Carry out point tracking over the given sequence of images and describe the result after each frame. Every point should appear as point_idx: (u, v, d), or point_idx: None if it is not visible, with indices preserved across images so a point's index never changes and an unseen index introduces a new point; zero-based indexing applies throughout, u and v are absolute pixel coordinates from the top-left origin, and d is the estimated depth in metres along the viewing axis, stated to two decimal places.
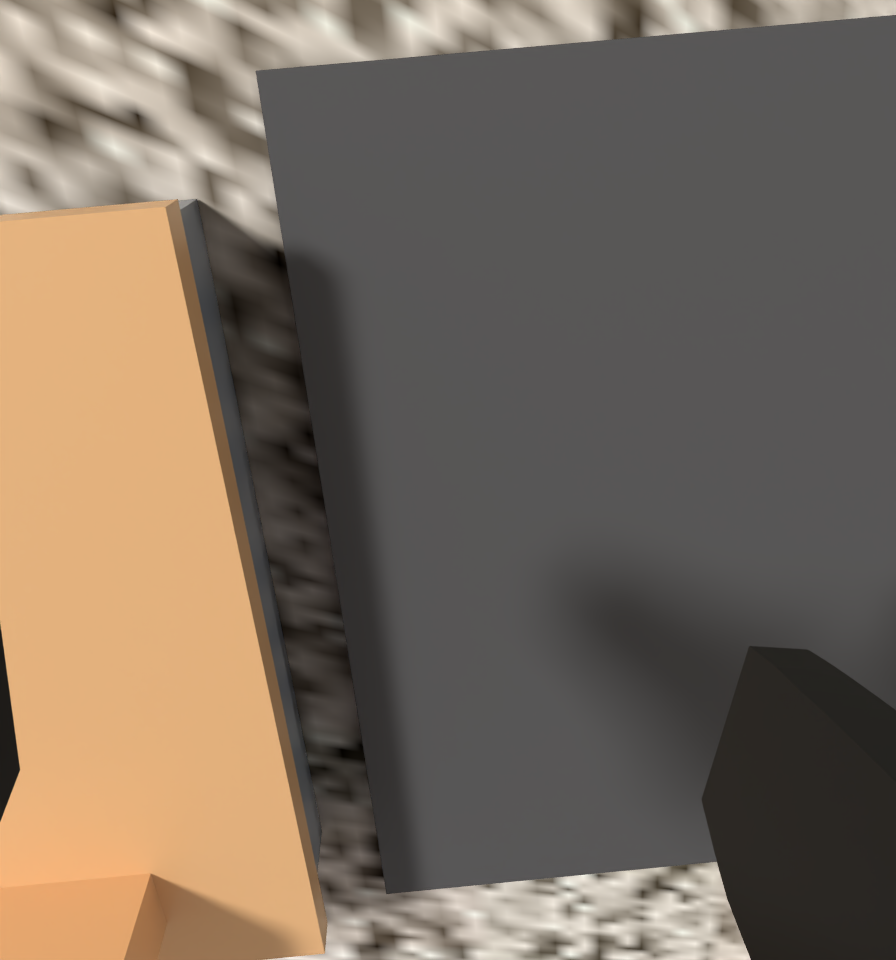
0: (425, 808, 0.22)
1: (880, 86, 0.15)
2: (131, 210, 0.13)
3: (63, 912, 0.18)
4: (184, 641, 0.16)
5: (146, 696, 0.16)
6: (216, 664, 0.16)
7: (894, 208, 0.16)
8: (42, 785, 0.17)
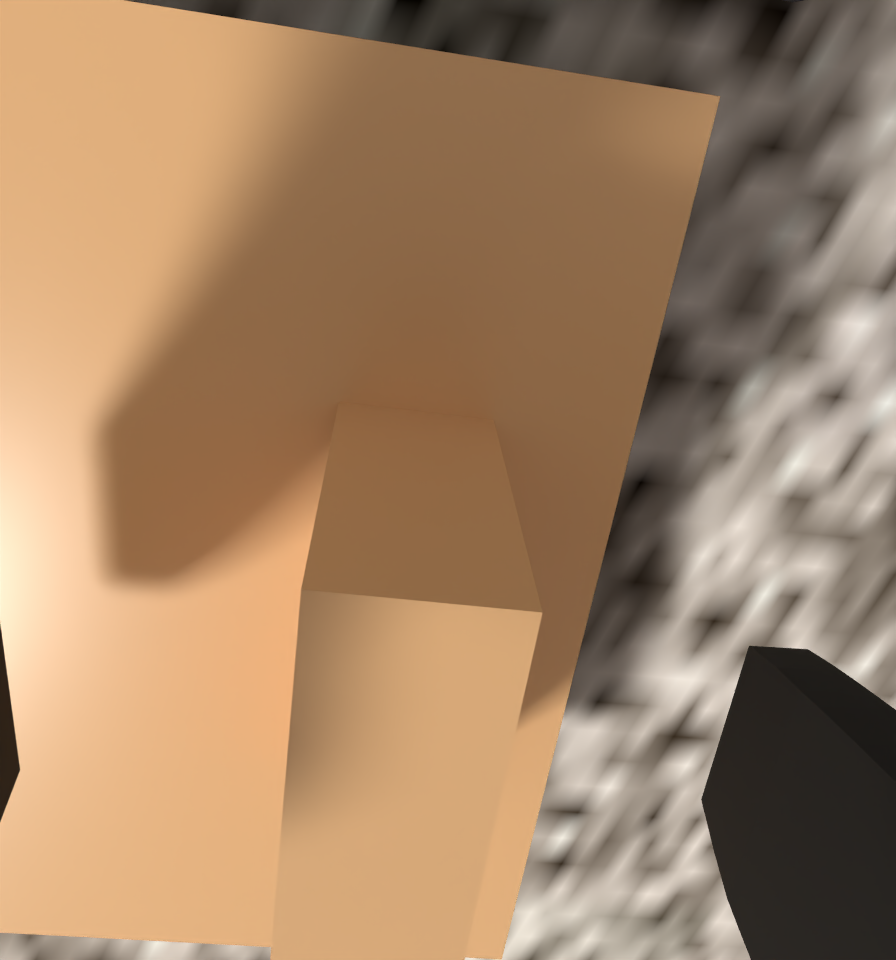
0: None
1: None
2: None
3: None
4: None
5: None
6: None
7: None
8: (67, 507, 0.09)
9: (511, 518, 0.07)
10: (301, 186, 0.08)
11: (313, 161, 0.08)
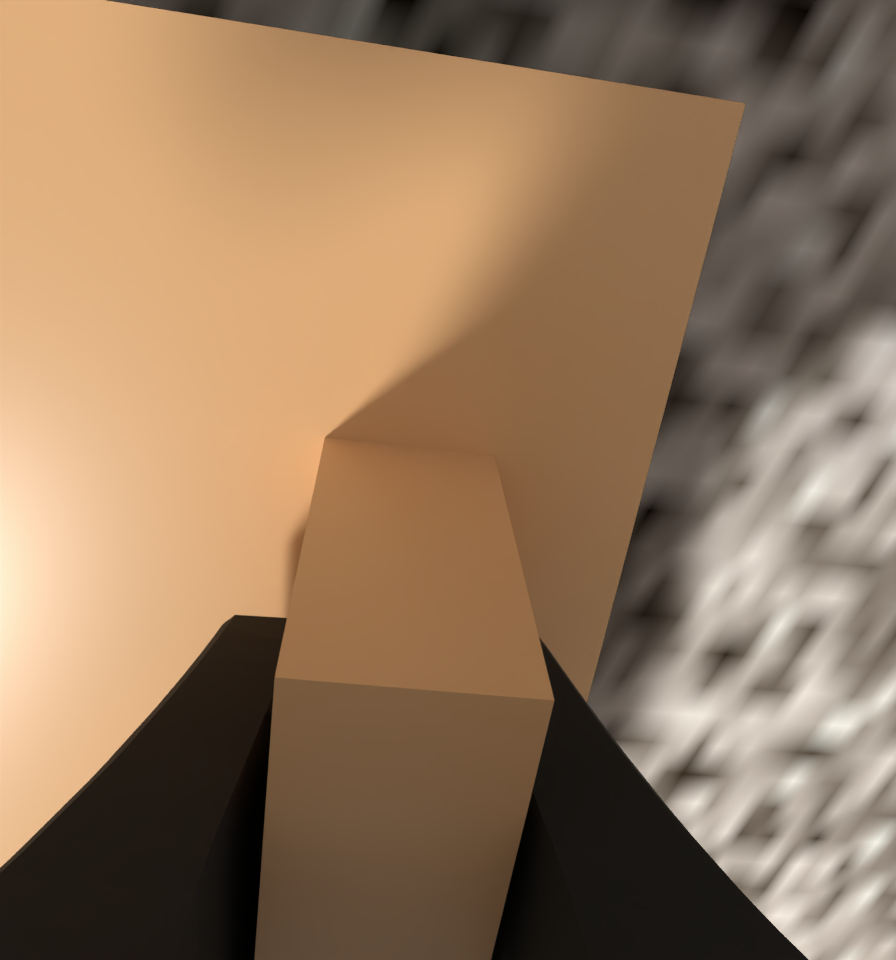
0: None
1: None
2: None
3: None
4: None
5: None
6: None
7: None
8: (28, 552, 0.08)
9: (516, 577, 0.06)
10: (281, 202, 0.07)
11: (294, 175, 0.07)
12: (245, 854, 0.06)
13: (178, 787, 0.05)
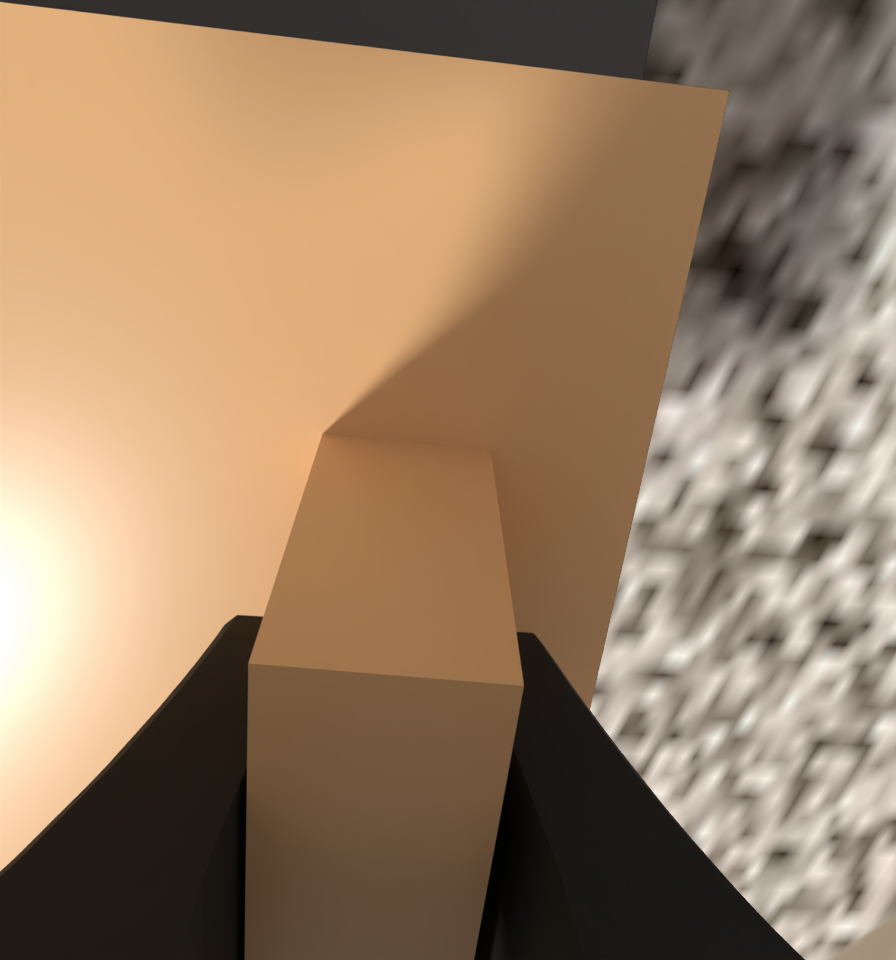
0: None
1: None
2: None
3: None
4: None
5: None
6: None
7: None
8: (42, 549, 0.09)
9: (497, 567, 0.06)
10: (272, 204, 0.07)
11: (283, 177, 0.07)
12: None
13: (181, 787, 0.05)
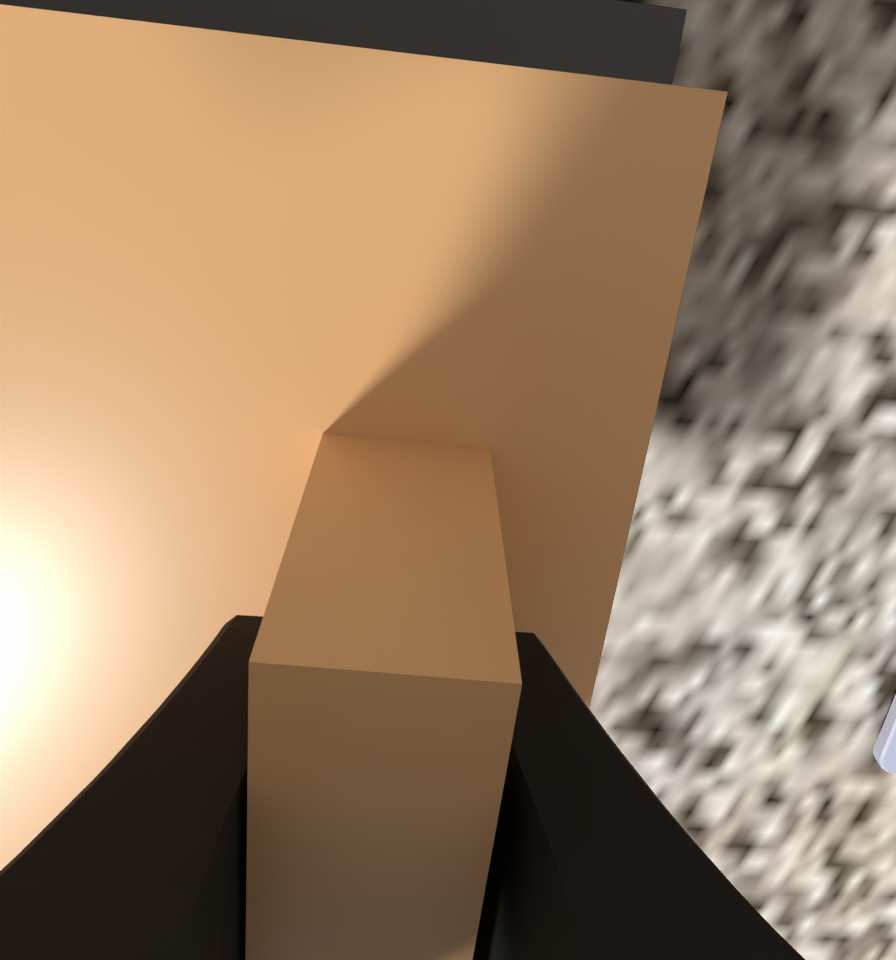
0: None
1: None
2: None
3: None
4: None
5: None
6: None
7: None
8: (44, 548, 0.09)
9: (497, 566, 0.06)
10: (272, 205, 0.07)
11: (284, 178, 0.07)
12: None
13: (181, 787, 0.05)
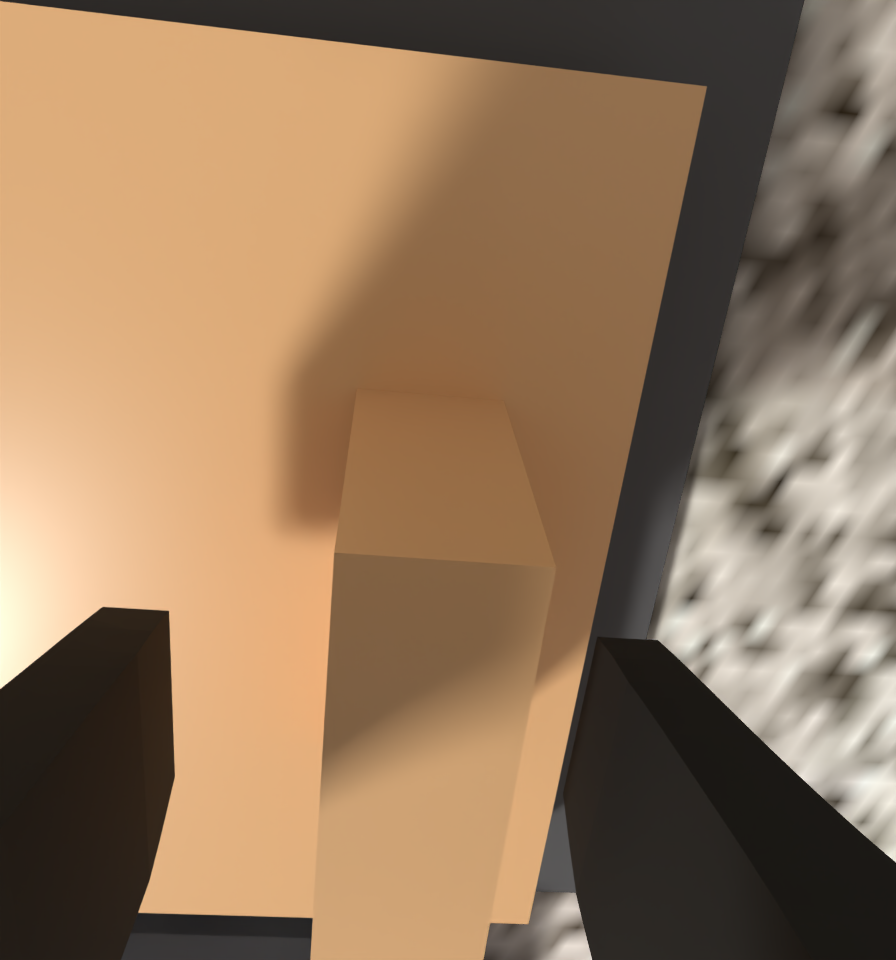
0: None
1: None
2: None
3: None
4: None
5: None
6: None
7: None
8: (105, 498, 0.10)
9: (523, 486, 0.07)
10: (316, 186, 0.08)
11: (327, 162, 0.08)
12: (71, 848, 0.06)
13: None
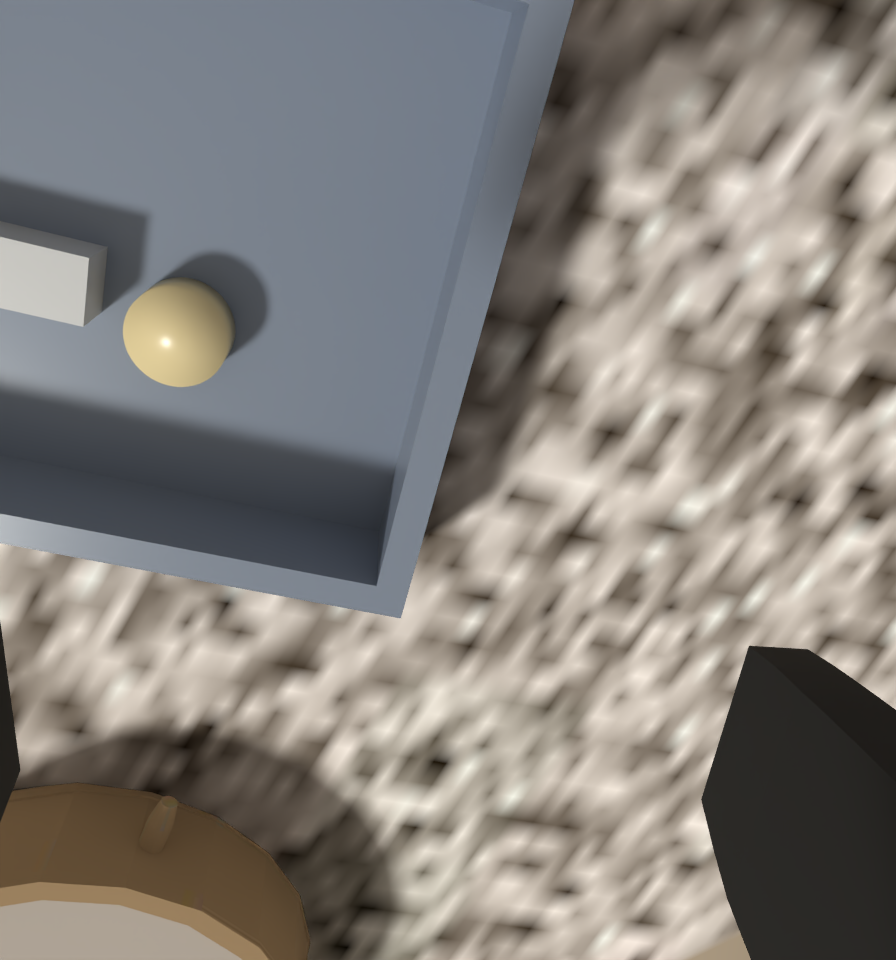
0: None
1: None
2: None
3: None
4: None
5: None
6: None
7: None
8: None
9: None
10: None
11: None
12: None
13: None
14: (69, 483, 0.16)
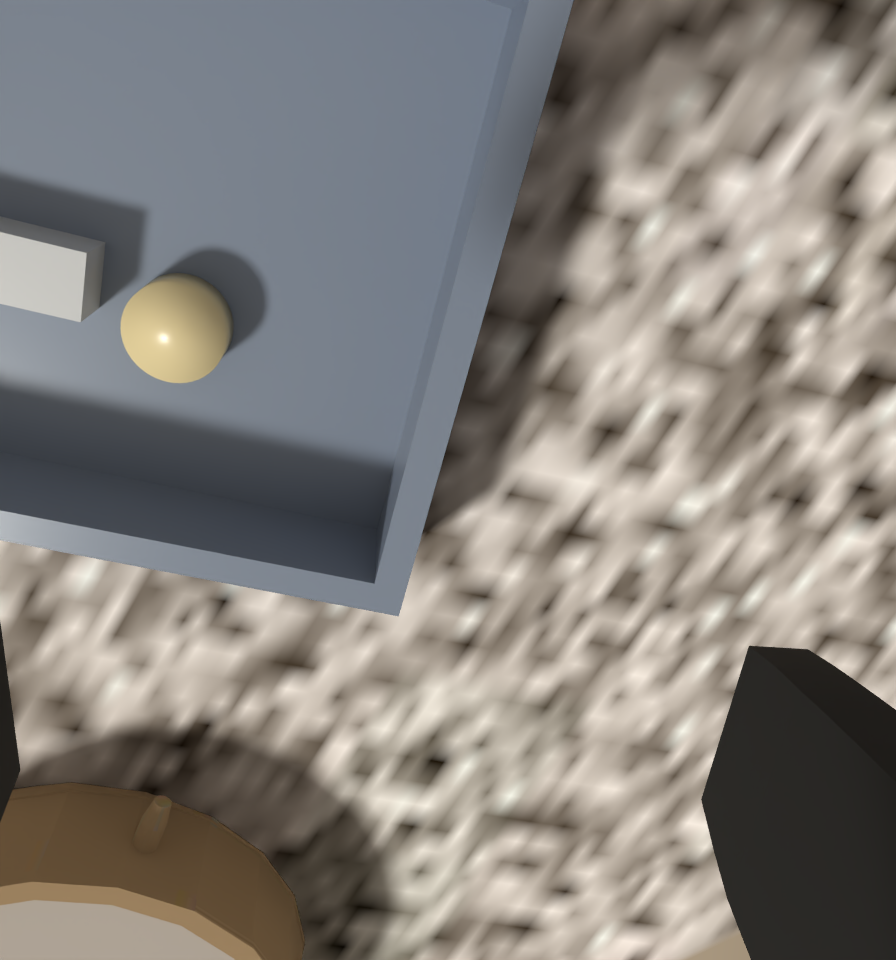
0: None
1: None
2: None
3: None
4: None
5: None
6: None
7: None
8: None
9: None
10: None
11: None
12: None
13: None
14: (66, 479, 0.16)
